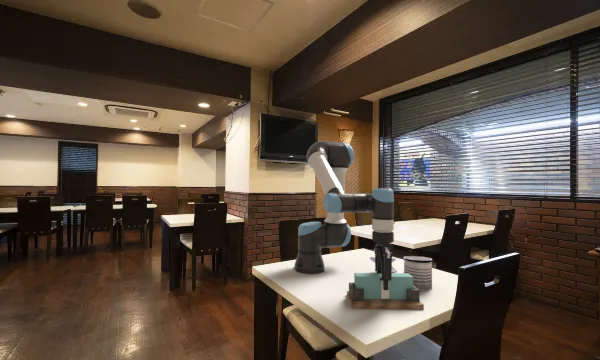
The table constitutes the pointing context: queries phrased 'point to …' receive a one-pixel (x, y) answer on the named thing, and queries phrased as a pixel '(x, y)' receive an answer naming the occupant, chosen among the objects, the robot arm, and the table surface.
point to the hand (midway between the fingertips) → (382, 295)
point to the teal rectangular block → (373, 285)
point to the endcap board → (384, 300)
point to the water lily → (392, 262)
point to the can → (419, 271)
